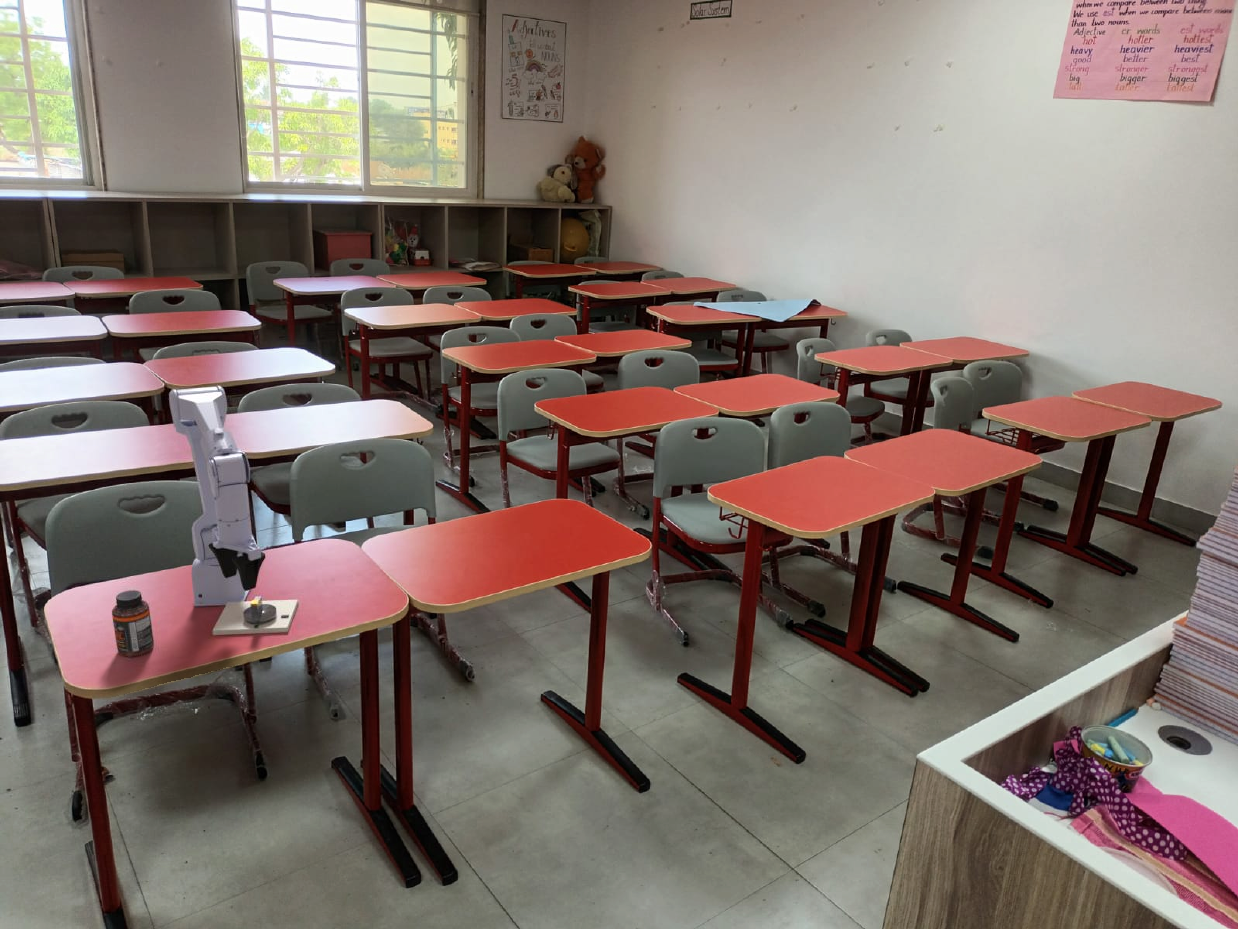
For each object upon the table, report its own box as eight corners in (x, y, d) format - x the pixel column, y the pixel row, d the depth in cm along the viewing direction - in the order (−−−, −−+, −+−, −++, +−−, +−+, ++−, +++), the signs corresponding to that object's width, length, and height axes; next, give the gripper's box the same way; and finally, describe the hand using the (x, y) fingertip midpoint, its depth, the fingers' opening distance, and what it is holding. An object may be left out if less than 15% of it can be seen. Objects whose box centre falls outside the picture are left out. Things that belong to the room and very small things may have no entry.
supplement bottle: (111, 651, 158) (102, 595, 155) (143, 638, 163) (135, 584, 160) (128, 661, 155) (120, 605, 152) (161, 648, 160) (153, 593, 156)
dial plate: (213, 635, 165) (212, 629, 165) (228, 606, 176) (227, 600, 176) (287, 632, 168) (287, 626, 167) (298, 603, 179) (297, 598, 178)
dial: (247, 609, 173) (245, 587, 171) (279, 608, 174) (277, 586, 172) (239, 627, 166) (237, 604, 164) (272, 626, 167) (270, 603, 166)
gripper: (193, 511, 162) (201, 576, 166) (231, 533, 153) (238, 602, 158) (230, 502, 167) (236, 565, 172) (269, 523, 159) (274, 589, 163)
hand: (239, 582), depth 165 cm, fingers open, 7 cm apart
